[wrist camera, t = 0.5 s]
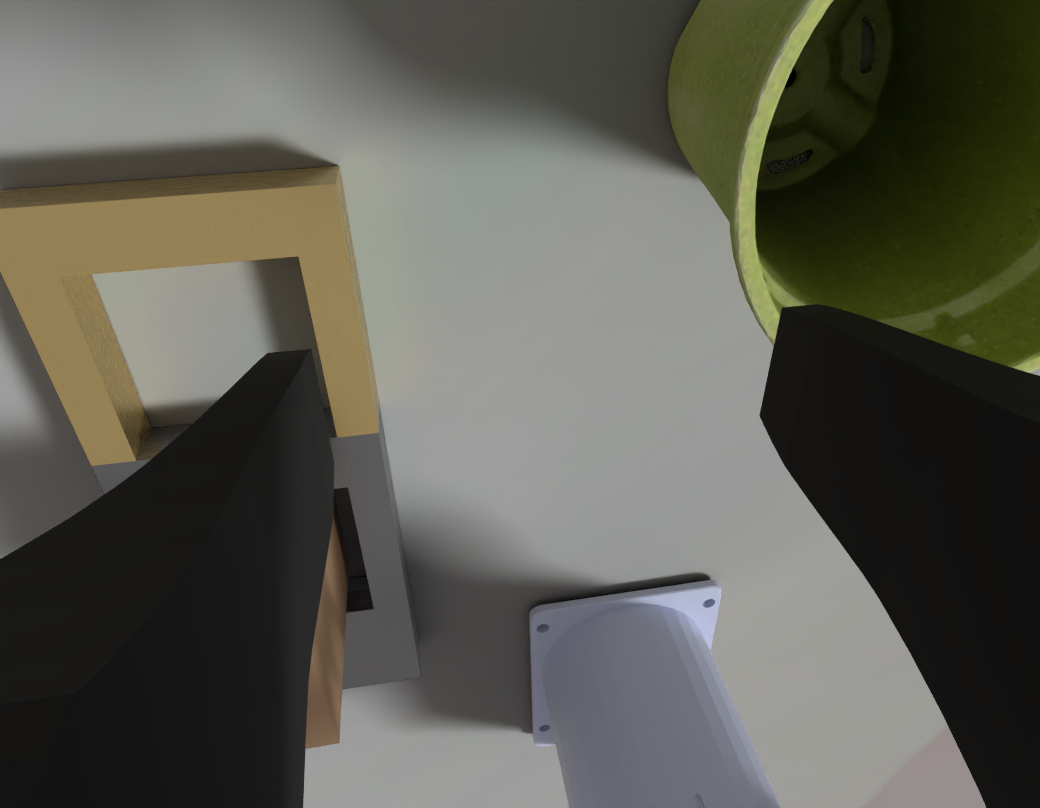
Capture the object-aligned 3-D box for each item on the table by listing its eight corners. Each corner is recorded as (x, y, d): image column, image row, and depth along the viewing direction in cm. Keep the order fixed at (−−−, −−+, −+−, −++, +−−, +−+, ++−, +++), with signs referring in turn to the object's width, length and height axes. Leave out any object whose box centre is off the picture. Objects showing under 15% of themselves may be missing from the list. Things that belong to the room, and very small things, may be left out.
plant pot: (645, 292, 22) (774, 469, 14) (554, -58, 16) (690, -52, 9) (941, 178, 21) (1229, 303, 14) (949, -221, 16) (1424, -353, 9)
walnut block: (349, 562, 26) (339, 743, 20) (235, 577, 25) (191, 767, 19) (329, 476, 23) (311, 652, 18) (204, 491, 23) (144, 678, 17)
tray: (419, 642, 29) (420, 677, 27) (214, 674, 28) (205, 710, 26) (339, 165, 18) (335, 184, 17) (3, 189, 17) (-28, 211, 16)
